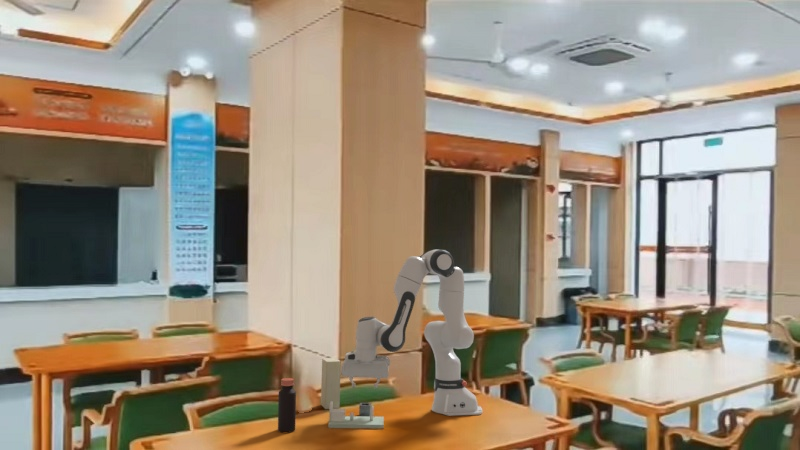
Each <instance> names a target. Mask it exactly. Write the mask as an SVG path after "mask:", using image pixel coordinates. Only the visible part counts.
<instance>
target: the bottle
mask: <svg viewBox="0 0 800 450" xmlns="http://www.w3.org/2000/svg"><path fill="white" fill-rule="evenodd" d="M294 381H295V379H294V378H292V377H286V378H285V377H284V378H281V379H280V386H281V389H280V390H279V391H278V407H277V408H278V409H277V431H278V432H279V431H280V433H283V432H288V433H292V432H294V431H296V418H297V417H296V414H297V413H296V411H297V409H296V408H297V406H296V405H297V392H296V390H295V389H294V384H295V382H294Z"/></svg>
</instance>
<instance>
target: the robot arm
mask: <svg viewBox="0 0 800 450" xmlns="http://www.w3.org/2000/svg"><path fill="white" fill-rule="evenodd" d="M428 274H429V275H435V276H436V275H437V276H438V279H439V289H438V290H439V291H438V292H439V293H438V308H439V311H440V312H441V313H442V315H443V317H444V320H433V321H429V322H428V323H427V324H426V325H425V327H424V332H423V335H424V339H425V340H426V341H427V342H428V344H429V346H430V347H431V349H432V352H433V356H434V361H435V377H434V381H433V382H434V383H433V390H434V394H433V395H434V396H433V402H432V406H431V411H432V412H434V413H436V414H441V415H445V416H447V417H449V416H450V417H451V416H452V417H454V416H474V415H478V416H479V415H482V414H483V413H484V412H483V408H482V406H481V405H478V400H477V397H476V395H475V394H474V393H473V392H472V391H470V390H469V389H468V388H466V387H467V385H468V384H467V381H465V379H463V378H462V377H461V371H462V370H461V367H462V366H461V365H462V363H461V360H460V358H459V357H458V356H457V354H456V353H455V352H454V349H456V350H463V349H468V348H470V347H471V346H472V344H473V343H474V338H475V335H474V331H473V329H472V327H471V326H469V324H468V322H467V319H466V316H465V312H464V311H465V310H464V300H465V297H464V296H465V276H464V271H463V269H462V268H460V267H458V266H456V263H455V260H454V257H453V256H452V253H450V252H449V251H447V250H446V249H431V250H427V251H425V252H423V254H421V255H420V256H417V255H416V256H415V255H411V256H409V257H408V258H407V259H406V260H405V262H404V263H403V265H402V266H401V268H400V270H399V272H398V274H397V277H396V279H395V282H394V286H393V293H394V296H395V297H396V300H397V306H396V307H397V308H396V310H395V314H394V316H393V318H392V322H391V324H388V323H385V322H382V321H381V320H379V319H377V318H376V317H375V316H365V317H362V318H360V319H358V321H357V324H356V335H355V338H356V339H355V340H356V346H355V350H353V351H349V352H347V353H345V355H344V357H345V358H344V360H343V362H342V366H341V371H340V376H342V377H345V378H349V382H350V383H351V388H352V389H354V388H356V382H354V381H353V379H354V378H366V379H367V378H371V379H372V378H373V379H374V378H375V379H376V383H373V389H378V384H379V383H380V382H381V379H387V378H389V376H390V375H389V374H390V372H389V366H390V364H391V359H390V358H389V356H387V355H377V347H379V346H380V347H382V348H383V349H385V350H386V351H387V352H390V353H391V352H392V353H394V352H398V351H400V350H401V349H402V348H403V346H404V345H405V342H406V330H407V328H408V327H407V326H408V324H409V320H410V318H411V314H412V312H413V309H414V305H415V301H416V299H417V297H418V294H419V291H420V288H421V286H422V284H423V281H424V279H425V277H426V276H427V275H428Z"/></svg>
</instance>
